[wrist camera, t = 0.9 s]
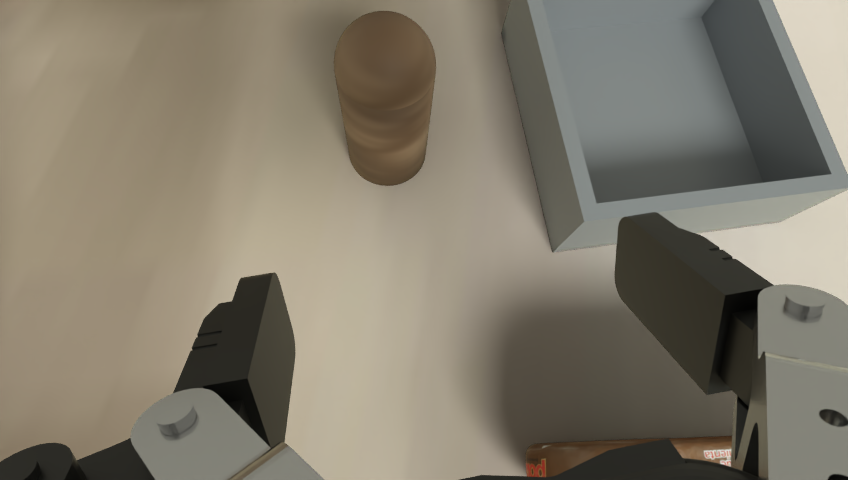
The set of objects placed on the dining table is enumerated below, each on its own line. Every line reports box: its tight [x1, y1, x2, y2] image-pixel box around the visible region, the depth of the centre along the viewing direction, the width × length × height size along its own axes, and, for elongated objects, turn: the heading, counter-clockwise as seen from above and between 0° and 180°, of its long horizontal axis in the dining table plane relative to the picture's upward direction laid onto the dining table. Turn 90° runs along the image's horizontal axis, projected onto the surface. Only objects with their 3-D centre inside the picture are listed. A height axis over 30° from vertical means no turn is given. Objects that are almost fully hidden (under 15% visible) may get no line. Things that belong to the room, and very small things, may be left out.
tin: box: [526, 436, 732, 477], centre depth 22 cm, size 15×3×8 cm, turn 91°
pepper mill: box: [334, 11, 436, 186], centre depth 25 cm, size 4×4×10 cm
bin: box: [501, 0, 848, 252], centre depth 29 cm, size 14×15×5 cm
